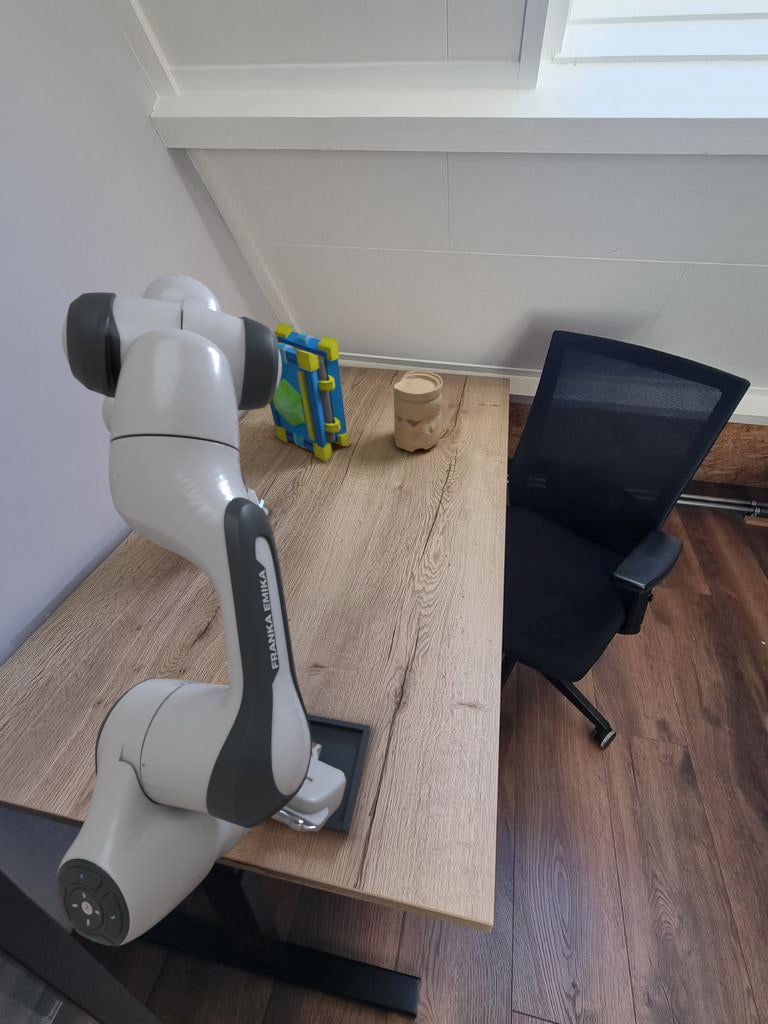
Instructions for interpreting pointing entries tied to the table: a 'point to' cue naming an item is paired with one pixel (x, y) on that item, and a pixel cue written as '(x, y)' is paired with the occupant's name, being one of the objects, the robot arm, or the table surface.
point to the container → (417, 410)
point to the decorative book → (309, 393)
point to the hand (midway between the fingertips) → (292, 738)
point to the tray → (341, 762)
